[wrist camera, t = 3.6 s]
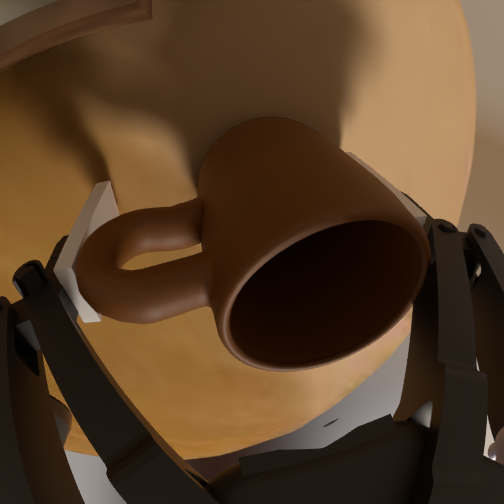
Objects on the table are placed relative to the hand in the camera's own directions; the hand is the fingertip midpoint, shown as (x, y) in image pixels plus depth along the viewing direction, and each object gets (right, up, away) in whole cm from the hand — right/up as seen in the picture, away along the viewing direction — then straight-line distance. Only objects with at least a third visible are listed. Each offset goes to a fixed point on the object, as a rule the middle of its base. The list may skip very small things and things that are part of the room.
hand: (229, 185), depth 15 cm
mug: (0, +1, +1) cm, 1 cm away
